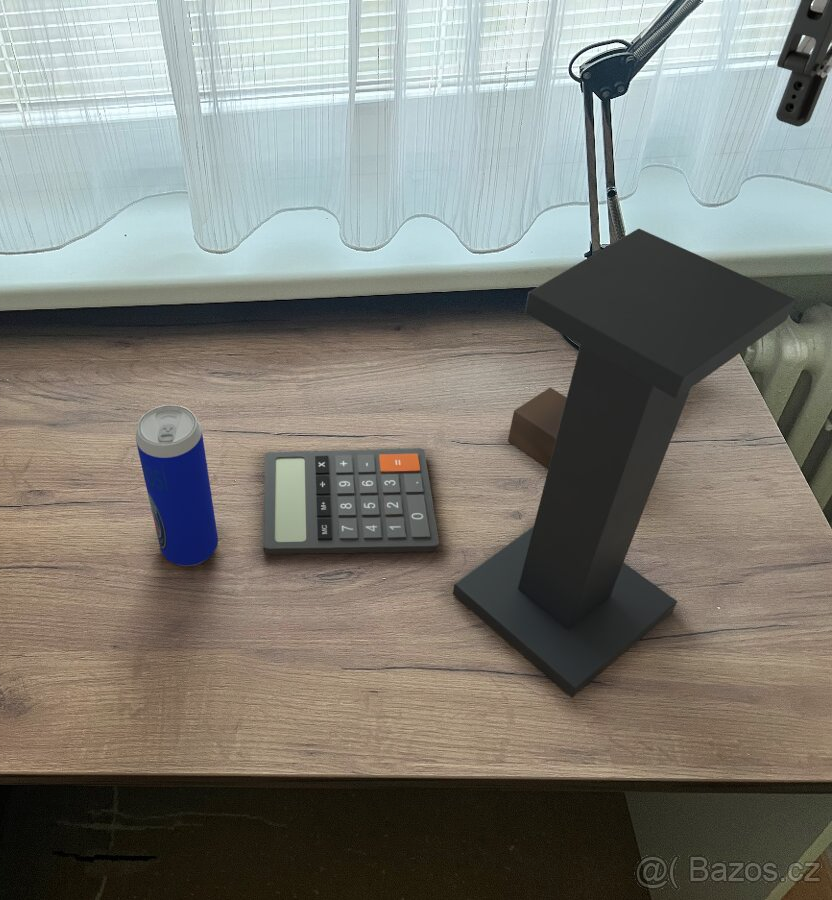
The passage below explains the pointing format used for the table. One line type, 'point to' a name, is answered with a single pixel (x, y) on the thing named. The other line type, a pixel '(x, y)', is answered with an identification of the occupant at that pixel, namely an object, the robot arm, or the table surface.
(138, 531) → the table surface
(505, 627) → the stand
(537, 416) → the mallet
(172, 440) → the beverage can
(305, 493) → the calculator
